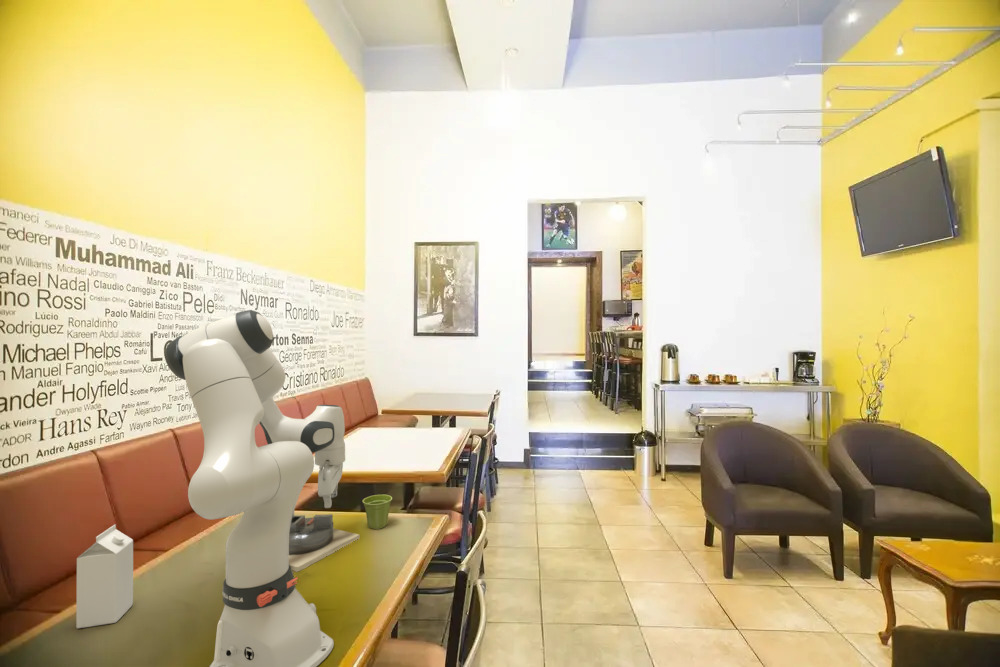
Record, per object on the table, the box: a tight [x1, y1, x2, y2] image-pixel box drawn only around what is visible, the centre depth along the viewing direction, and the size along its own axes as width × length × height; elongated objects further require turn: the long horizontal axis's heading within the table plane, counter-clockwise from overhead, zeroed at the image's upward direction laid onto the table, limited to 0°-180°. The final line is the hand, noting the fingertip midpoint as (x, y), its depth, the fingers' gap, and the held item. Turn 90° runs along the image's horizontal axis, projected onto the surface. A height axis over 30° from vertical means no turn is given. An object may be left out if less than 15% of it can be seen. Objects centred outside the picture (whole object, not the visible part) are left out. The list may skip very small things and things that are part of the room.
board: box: [289, 527, 361, 573], centre depth 131 cm, size 22×22×1 cm
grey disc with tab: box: [289, 513, 334, 554], centre depth 132 cm, size 16×16×8 cm
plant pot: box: [362, 494, 393, 530], centre depth 146 cm, size 9×9×9 cm
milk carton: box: [75, 523, 134, 629], centre depth 99 cm, size 7×7×19 cm
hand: (331, 501), depth 136 cm, fingers open, 8 cm apart
